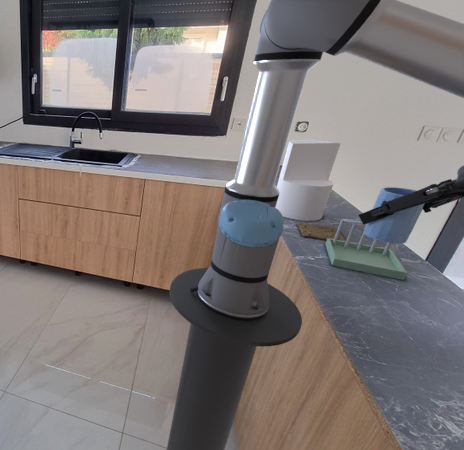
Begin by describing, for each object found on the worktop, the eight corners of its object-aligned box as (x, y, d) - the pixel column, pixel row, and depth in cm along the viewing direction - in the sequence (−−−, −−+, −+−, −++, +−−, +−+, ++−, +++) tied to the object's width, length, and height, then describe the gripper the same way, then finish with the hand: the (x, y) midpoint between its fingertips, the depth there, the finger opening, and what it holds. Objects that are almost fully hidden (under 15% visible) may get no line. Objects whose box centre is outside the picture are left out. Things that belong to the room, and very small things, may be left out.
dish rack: (331, 265, 90) (344, 233, 86) (325, 244, 102) (335, 215, 98) (403, 280, 83) (421, 246, 79) (387, 255, 94) (402, 225, 90)
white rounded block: (262, 205, 136) (279, 140, 124) (303, 205, 135) (323, 139, 123) (286, 220, 120) (308, 147, 108) (332, 220, 119) (360, 147, 108)
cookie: (347, 243, 102) (348, 240, 101) (302, 236, 107) (303, 234, 107) (337, 229, 112) (338, 227, 111) (297, 223, 117) (297, 221, 116)
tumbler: (366, 239, 78) (386, 193, 73) (360, 227, 84) (377, 185, 79) (411, 246, 74) (434, 199, 69) (400, 234, 80) (421, 189, 76)
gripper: (472, 193, 57) (349, 235, 78) (551, 185, 60) (414, 227, 81) (448, 159, 59) (336, 208, 80) (525, 153, 63) (399, 201, 84)
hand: (375, 217), depth 81 cm, fingers closed on tumbler, 8 cm apart
